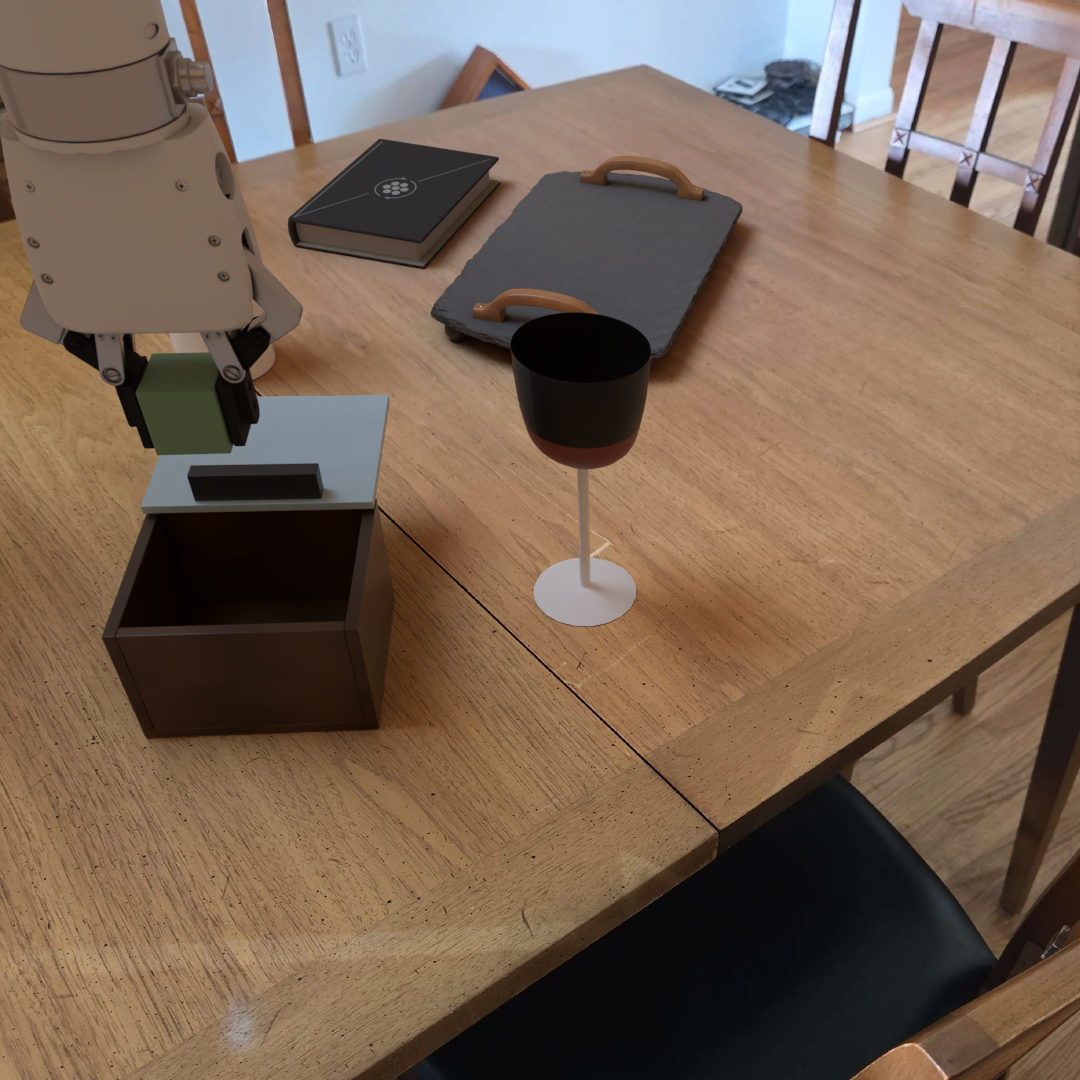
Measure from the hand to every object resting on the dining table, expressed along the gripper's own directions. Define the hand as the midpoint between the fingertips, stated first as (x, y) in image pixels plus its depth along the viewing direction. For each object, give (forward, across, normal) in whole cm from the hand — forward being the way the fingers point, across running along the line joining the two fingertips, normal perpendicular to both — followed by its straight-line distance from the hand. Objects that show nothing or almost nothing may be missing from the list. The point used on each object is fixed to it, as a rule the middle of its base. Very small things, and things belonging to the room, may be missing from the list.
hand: (199, 430), depth 65 cm
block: (0, 0, 0) cm, 0 cm away
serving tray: (+19, -25, -54) cm, 62 cm away
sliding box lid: (+9, -1, -11) cm, 15 cm away
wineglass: (+19, -22, -6) cm, 29 cm away
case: (+19, 0, 0) cm, 19 cm away
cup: (+19, +9, -39) cm, 44 cm away
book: (+19, -4, -68) cm, 71 cm away
